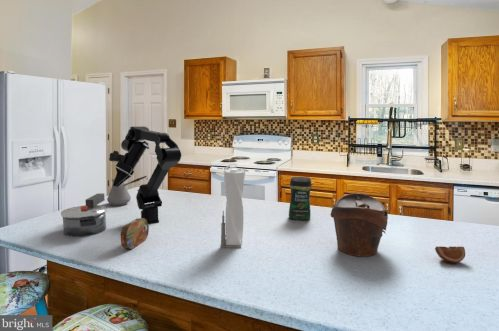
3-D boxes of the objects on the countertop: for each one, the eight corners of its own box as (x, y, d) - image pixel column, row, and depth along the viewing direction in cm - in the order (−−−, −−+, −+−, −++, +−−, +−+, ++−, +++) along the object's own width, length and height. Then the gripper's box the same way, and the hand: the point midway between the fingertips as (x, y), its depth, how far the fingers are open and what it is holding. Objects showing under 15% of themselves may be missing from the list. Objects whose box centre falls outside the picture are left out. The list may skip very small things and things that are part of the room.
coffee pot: (102, 206, 172) (101, 176, 170) (114, 201, 184) (113, 173, 182) (143, 207, 170) (142, 177, 168) (152, 202, 181) (151, 174, 179)
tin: (127, 252, 113) (126, 227, 112) (119, 252, 114) (118, 227, 112) (149, 237, 128) (149, 215, 126) (142, 237, 128) (141, 214, 127)
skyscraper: (223, 239, 126) (222, 163, 122) (245, 239, 126) (245, 163, 122) (220, 247, 118) (220, 166, 114) (244, 248, 117) (244, 166, 114)
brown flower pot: (356, 265, 103) (360, 207, 101) (318, 244, 122) (320, 194, 120) (400, 257, 111) (405, 202, 108) (358, 238, 129) (360, 190, 127)
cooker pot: (111, 234, 130) (110, 216, 129) (66, 242, 122) (65, 222, 121) (99, 218, 152) (98, 202, 151) (60, 223, 144) (59, 207, 143)
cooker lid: (97, 218, 127) (96, 207, 126) (52, 218, 126) (51, 208, 126) (119, 202, 151) (119, 193, 151) (82, 202, 151) (82, 193, 150)
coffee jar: (288, 220, 150) (289, 178, 148) (289, 215, 158) (289, 175, 155) (310, 221, 149) (312, 178, 146) (310, 216, 156) (311, 175, 154)
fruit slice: (439, 265, 104) (441, 249, 104) (429, 256, 111) (430, 241, 110) (468, 266, 104) (470, 250, 103) (456, 257, 110) (458, 242, 110)
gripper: (119, 147, 156) (100, 177, 153) (115, 141, 138) (93, 175, 135) (141, 160, 158) (123, 190, 155) (140, 155, 140) (119, 189, 137)
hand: (115, 186), depth 146 cm, fingers open, 9 cm apart
